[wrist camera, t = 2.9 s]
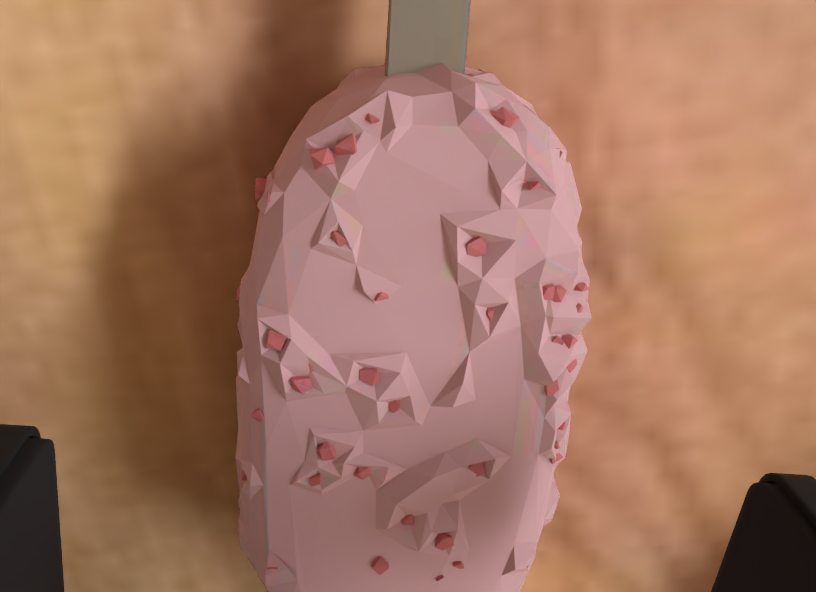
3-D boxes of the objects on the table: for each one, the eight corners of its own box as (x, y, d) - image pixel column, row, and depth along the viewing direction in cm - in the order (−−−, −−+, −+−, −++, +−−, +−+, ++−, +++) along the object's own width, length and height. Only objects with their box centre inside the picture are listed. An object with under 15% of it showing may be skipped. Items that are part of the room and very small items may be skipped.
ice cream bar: (711, -115, 9) (544, 708, 15) (599, -92, 13) (501, 556, 19) (195, -164, 9) (228, 719, 14) (237, -124, 12) (250, 560, 18)
